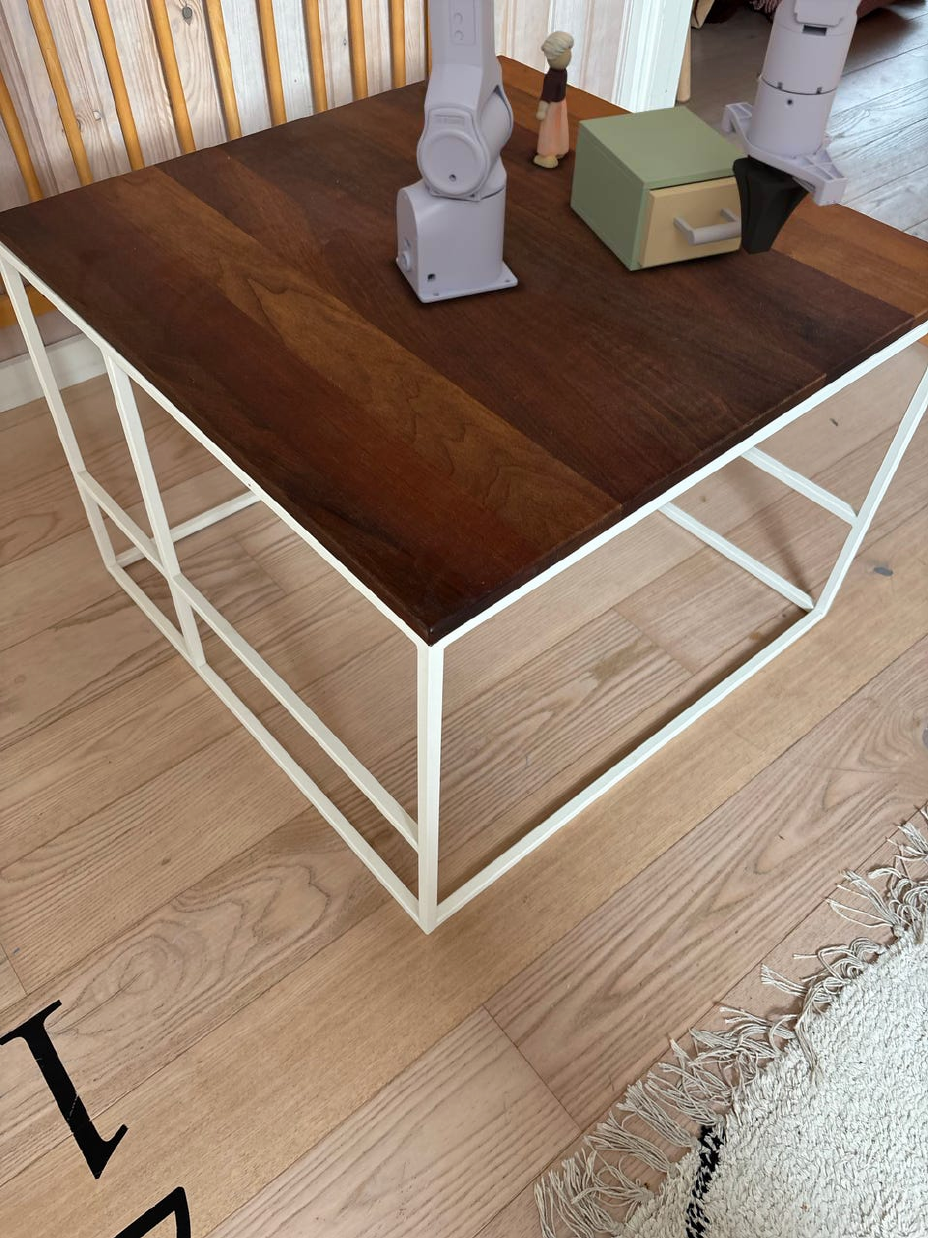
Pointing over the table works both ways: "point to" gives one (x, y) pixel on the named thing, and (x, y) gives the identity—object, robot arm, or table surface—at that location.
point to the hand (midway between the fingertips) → (755, 248)
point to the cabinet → (641, 169)
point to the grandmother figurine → (554, 101)
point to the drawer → (691, 221)
